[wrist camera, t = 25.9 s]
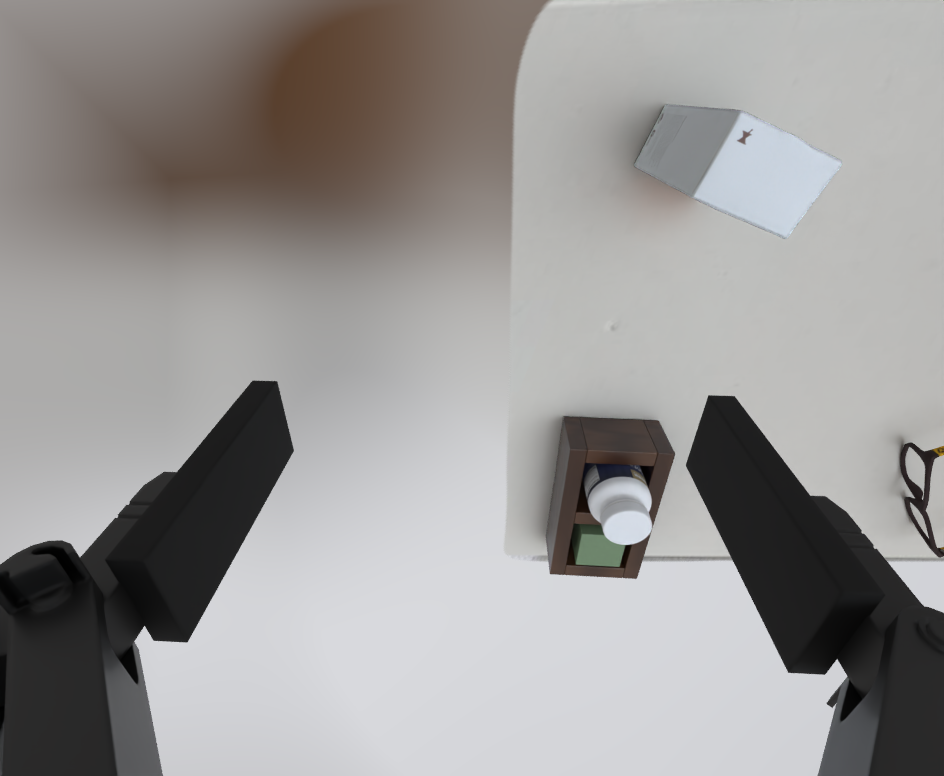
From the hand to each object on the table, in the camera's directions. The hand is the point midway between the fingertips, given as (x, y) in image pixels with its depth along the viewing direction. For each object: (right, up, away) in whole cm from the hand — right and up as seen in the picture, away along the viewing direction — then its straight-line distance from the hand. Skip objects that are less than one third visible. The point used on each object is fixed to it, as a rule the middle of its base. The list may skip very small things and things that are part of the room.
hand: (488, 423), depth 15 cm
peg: (+12, -12, +37) cm, 41 cm away
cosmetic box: (+14, +18, +19) cm, 30 cm away
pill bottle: (+13, -5, +33) cm, 36 cm away
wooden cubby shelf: (+12, -9, +35) cm, 38 cm away
